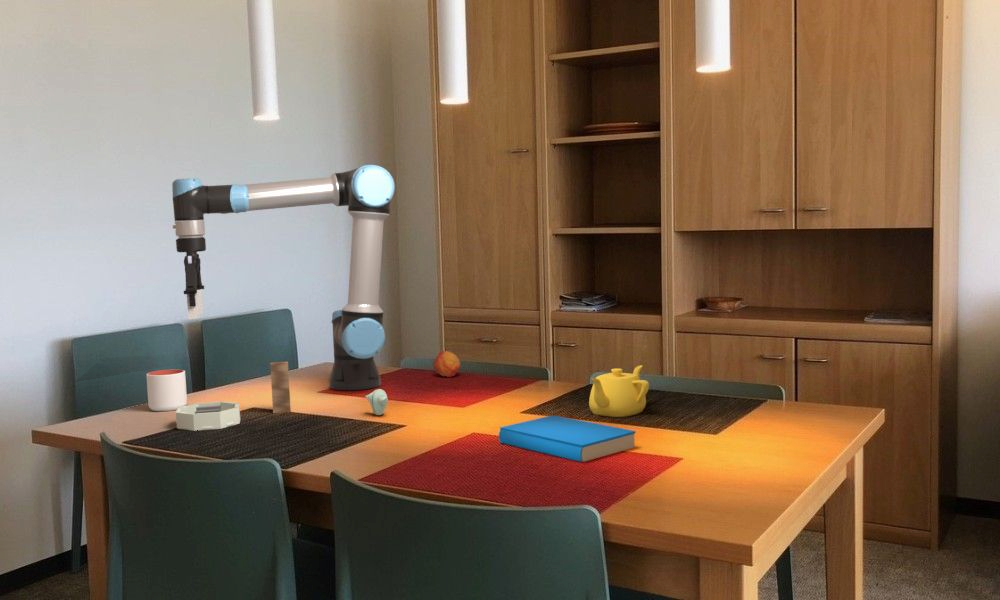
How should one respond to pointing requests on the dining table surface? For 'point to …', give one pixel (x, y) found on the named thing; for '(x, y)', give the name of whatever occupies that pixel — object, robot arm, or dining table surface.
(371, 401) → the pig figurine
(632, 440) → the book
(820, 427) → the dining table surface
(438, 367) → the fruit
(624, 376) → the teapot
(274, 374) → the brown tall block
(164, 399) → the cup
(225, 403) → the octagonal tray
